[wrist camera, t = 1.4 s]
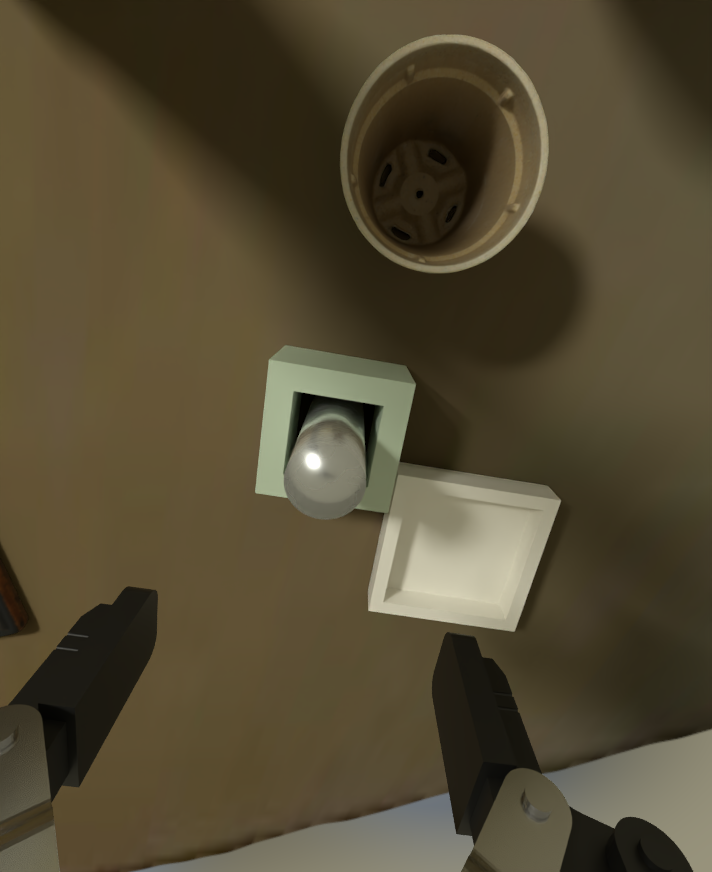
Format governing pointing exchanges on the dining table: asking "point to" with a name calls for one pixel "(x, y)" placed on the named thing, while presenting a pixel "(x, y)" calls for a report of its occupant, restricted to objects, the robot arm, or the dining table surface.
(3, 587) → the framed painting
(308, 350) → the block
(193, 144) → the dining table surface
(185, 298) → the dining table surface
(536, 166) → the flower pot
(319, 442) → the pin
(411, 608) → the tray
